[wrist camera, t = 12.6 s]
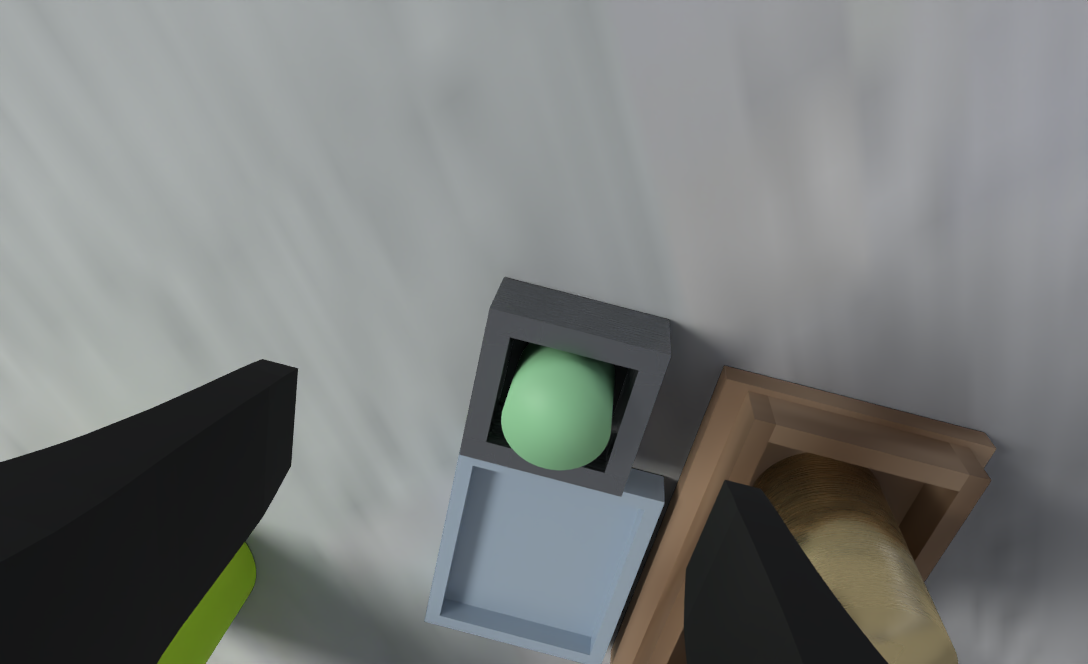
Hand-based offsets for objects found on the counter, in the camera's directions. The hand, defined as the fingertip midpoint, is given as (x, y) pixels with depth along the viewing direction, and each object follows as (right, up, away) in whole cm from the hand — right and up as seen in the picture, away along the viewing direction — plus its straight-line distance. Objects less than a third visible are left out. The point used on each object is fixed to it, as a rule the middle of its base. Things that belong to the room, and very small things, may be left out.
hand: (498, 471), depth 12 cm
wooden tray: (+9, -5, +13) cm, 16 cm away
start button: (+1, +1, +10) cm, 10 cm away
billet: (+9, -3, +10) cm, 14 cm away
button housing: (+1, +1, +10) cm, 11 cm away
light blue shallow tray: (+1, -5, +14) cm, 15 cm away
